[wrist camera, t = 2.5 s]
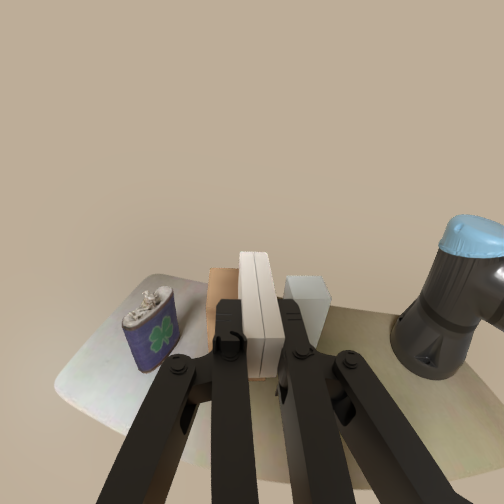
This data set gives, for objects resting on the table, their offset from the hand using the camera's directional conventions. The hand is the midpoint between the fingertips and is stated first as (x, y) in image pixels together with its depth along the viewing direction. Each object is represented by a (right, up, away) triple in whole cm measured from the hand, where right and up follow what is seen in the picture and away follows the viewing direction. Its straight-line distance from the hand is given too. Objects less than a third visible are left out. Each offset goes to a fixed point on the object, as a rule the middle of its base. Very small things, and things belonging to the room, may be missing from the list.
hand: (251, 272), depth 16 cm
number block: (+7, -12, +24) cm, 28 cm away
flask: (-13, -13, +20) cm, 27 cm away
